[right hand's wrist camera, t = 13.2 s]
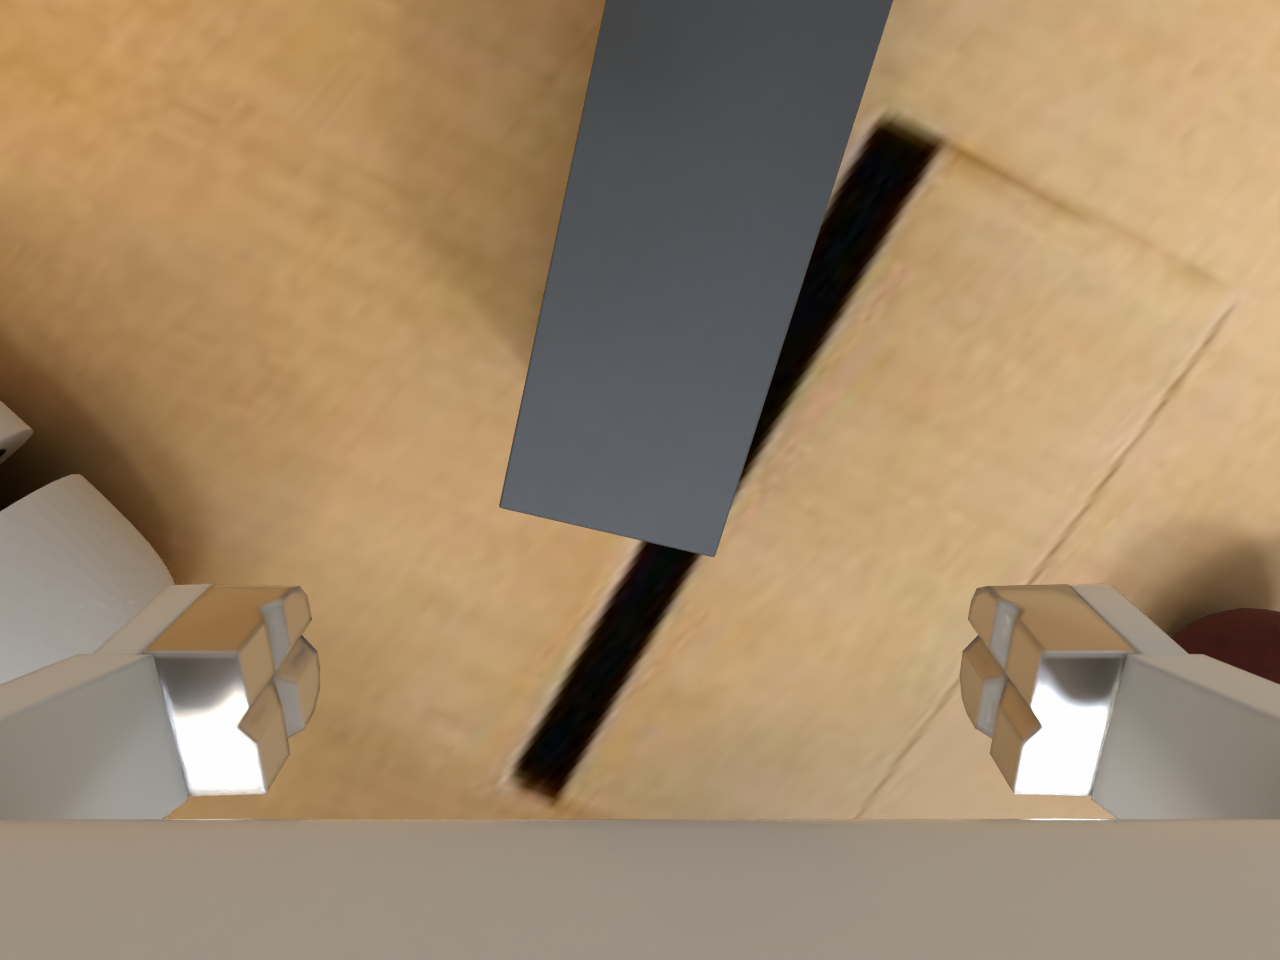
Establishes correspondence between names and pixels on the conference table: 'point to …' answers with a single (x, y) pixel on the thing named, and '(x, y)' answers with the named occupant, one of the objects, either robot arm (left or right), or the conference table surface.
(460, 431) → the conference table surface
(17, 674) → the white slotted rounded shell
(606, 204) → the box
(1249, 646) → the potato
